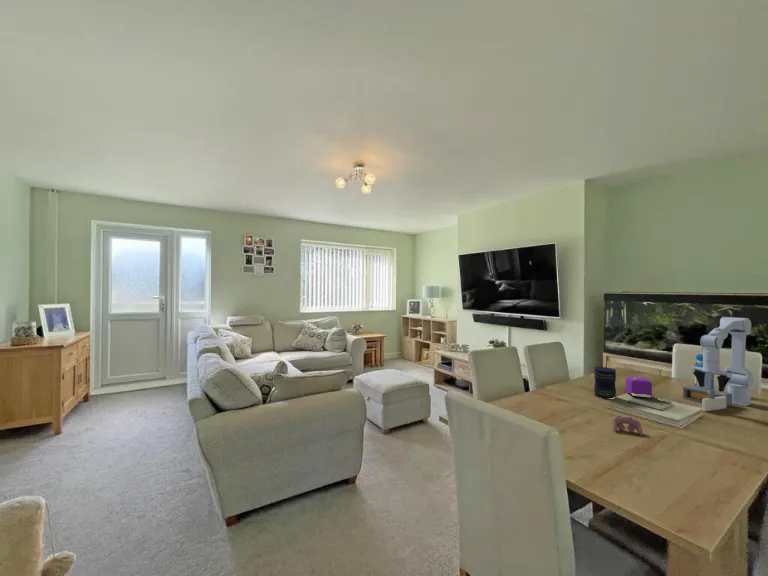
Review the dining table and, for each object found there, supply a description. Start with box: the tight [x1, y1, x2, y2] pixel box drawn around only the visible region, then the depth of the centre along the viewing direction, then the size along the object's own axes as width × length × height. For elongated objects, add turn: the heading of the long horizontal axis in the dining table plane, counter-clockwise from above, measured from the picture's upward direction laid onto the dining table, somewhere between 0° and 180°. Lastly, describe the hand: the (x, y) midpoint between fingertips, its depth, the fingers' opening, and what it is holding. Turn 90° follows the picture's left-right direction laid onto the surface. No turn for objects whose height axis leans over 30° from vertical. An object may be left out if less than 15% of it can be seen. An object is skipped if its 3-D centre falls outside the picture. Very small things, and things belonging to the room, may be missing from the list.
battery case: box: [682, 384, 733, 408], centre depth 171 cm, size 9×16×6 cm, turn 26°
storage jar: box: [593, 366, 617, 399], centre depth 178 cm, size 10×10×15 cm
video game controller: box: [611, 415, 643, 437], centre depth 134 cm, size 10×5×7 cm, turn 66°
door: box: [701, 389, 727, 412], centre depth 158 cm, size 2×16×10 cm, turn 106°
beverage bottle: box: [693, 353, 715, 390], centre depth 191 cm, size 8×8×20 cm
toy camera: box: [625, 376, 653, 396], centre depth 181 cm, size 11×14×10 cm
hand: (711, 388), depth 158 cm, fingers open, 7 cm apart
